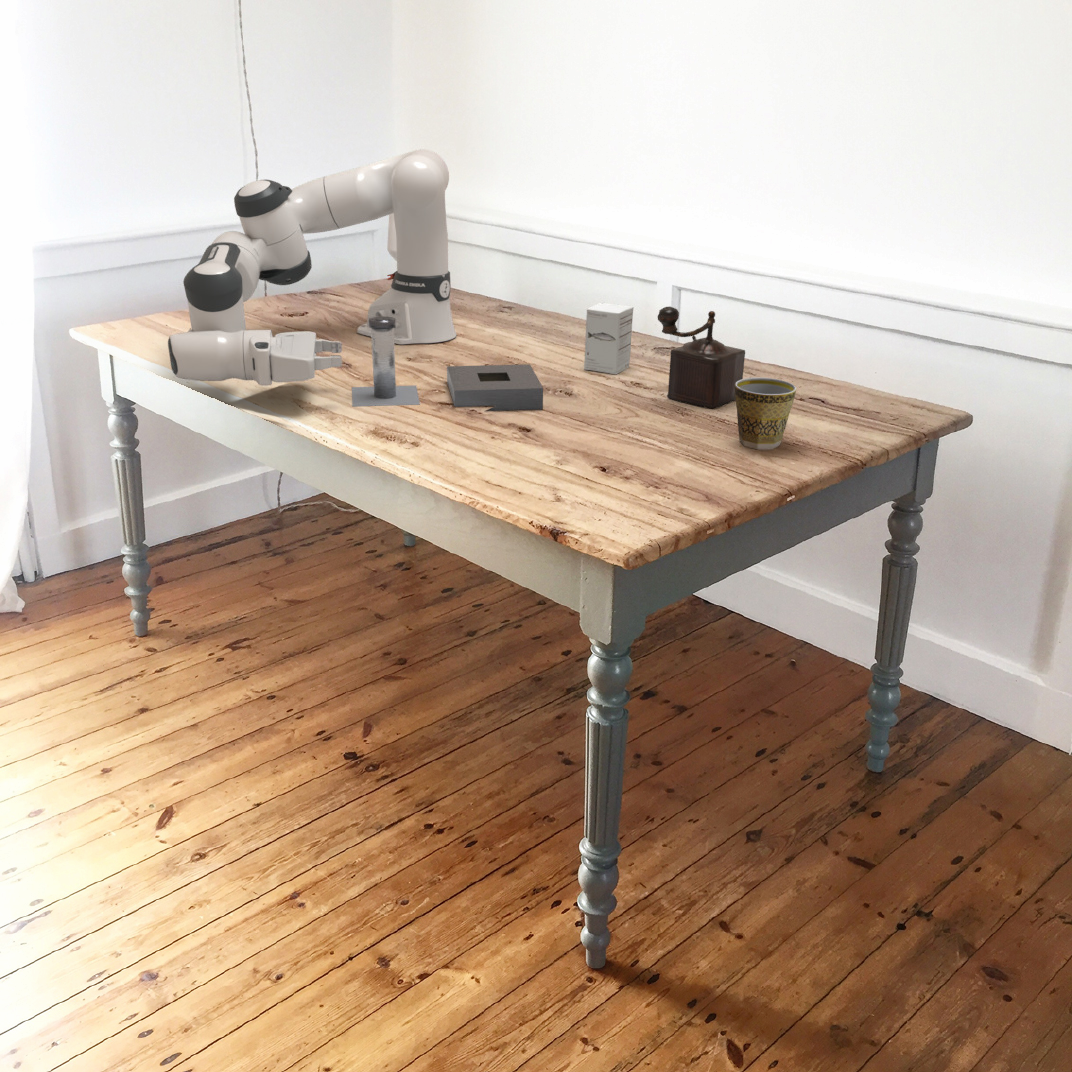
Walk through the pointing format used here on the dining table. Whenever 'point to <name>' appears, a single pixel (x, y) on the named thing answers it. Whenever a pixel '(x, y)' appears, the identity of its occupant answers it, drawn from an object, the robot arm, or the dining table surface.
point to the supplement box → (608, 338)
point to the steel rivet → (383, 356)
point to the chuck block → (495, 387)
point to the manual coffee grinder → (701, 365)
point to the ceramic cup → (763, 411)
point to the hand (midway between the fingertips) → (341, 353)
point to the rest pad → (367, 398)
